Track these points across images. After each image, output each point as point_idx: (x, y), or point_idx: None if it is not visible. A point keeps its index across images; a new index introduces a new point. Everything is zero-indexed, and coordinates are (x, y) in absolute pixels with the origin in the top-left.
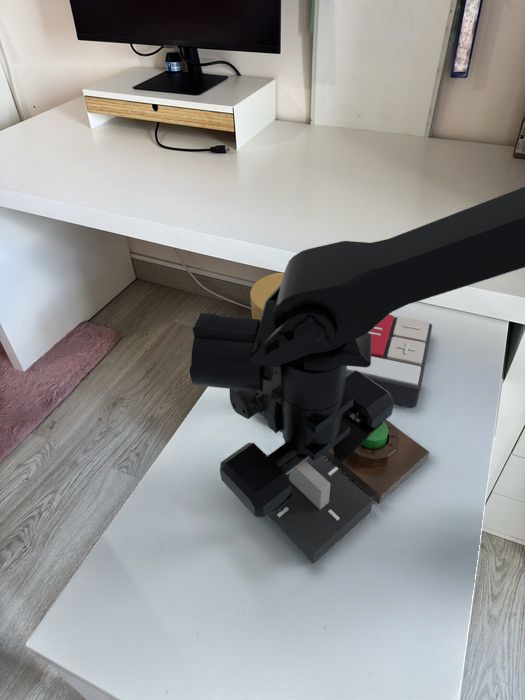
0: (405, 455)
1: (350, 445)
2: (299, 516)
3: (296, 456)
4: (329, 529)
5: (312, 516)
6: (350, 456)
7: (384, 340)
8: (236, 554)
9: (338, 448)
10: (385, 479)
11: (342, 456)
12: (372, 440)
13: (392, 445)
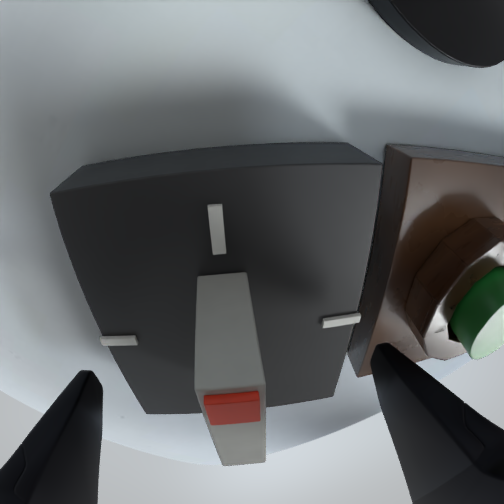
0: None
1: (409, 469)
2: (156, 365)
3: (242, 404)
4: None
5: (188, 379)
6: (414, 290)
7: None
8: (13, 286)
9: (400, 405)
10: None
11: (383, 401)
12: (470, 356)
13: None
